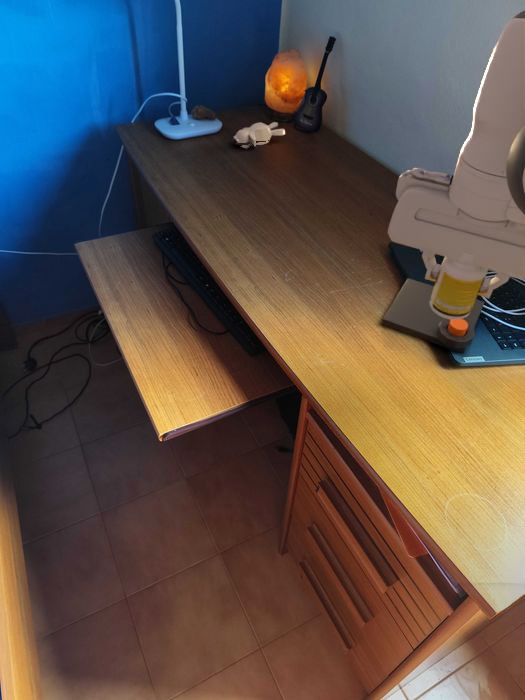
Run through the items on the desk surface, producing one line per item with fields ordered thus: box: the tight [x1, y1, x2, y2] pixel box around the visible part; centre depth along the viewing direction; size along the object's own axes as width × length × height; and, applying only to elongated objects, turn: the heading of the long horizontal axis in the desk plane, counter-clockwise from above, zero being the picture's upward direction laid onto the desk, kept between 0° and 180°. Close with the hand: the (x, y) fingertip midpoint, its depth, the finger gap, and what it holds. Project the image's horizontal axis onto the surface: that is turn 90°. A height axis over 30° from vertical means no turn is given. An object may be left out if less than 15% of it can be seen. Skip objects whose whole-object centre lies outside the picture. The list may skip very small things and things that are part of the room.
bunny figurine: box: [233, 121, 286, 149], centre depth 142 cm, size 10×5×15 cm
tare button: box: [447, 319, 468, 337], centre depth 80 cm, size 3×3×2 cm
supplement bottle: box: [430, 252, 489, 320], centre depth 59 cm, size 5×5×10 cm
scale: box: [381, 277, 486, 354], centre depth 86 cm, size 16×15×3 cm
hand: (457, 286), depth 60 cm, fingers closed on supplement bottle, 5 cm apart
